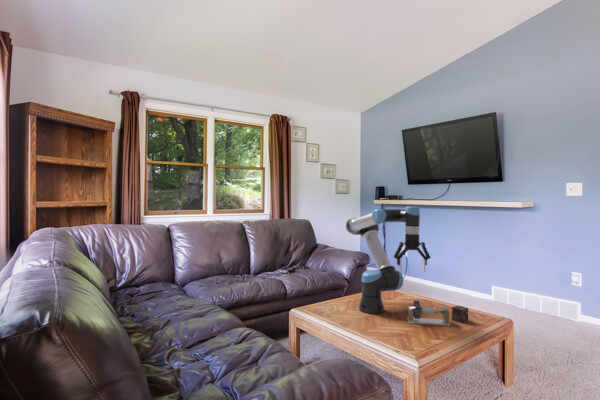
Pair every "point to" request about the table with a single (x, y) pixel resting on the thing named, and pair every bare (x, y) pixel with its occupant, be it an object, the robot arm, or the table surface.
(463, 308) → the box
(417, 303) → the grey hex nut
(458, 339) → the table surface
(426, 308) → the pipe rig
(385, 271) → the robot arm
